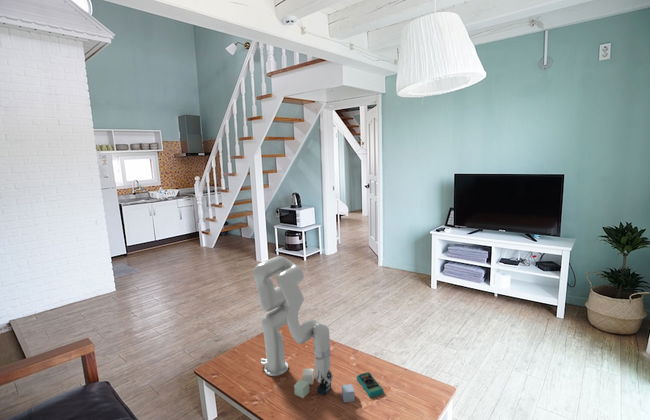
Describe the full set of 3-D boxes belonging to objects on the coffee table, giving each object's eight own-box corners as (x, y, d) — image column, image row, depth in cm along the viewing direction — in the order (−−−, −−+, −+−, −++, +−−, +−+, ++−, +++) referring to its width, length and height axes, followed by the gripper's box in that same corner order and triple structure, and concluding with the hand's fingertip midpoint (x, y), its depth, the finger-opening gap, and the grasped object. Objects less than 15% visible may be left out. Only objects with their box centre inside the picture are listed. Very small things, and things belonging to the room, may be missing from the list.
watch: (329, 396, 158) (328, 375, 156) (314, 391, 162) (313, 370, 160) (334, 389, 163) (334, 368, 161) (320, 384, 167) (319, 364, 165)
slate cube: (343, 402, 154) (343, 392, 153) (341, 394, 159) (341, 385, 158) (354, 401, 155) (354, 391, 154) (352, 393, 160) (352, 383, 159)
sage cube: (294, 394, 161) (294, 385, 160) (301, 388, 165) (300, 379, 164) (303, 398, 158) (302, 388, 158) (309, 391, 163) (308, 382, 162)
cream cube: (302, 383, 168) (302, 374, 167) (304, 377, 173) (304, 368, 172) (312, 384, 167) (312, 375, 167) (314, 377, 172) (313, 368, 171)
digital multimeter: (369, 375, 172) (369, 370, 172) (384, 394, 158) (384, 388, 158) (356, 379, 170) (355, 374, 169) (370, 399, 156) (369, 393, 155)
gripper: (320, 341, 168) (322, 374, 171) (308, 360, 152) (311, 397, 156) (334, 342, 166) (336, 376, 169) (324, 363, 150) (326, 400, 153)
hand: (324, 386), depth 162 cm, fingers closed on watch, 3 cm apart
